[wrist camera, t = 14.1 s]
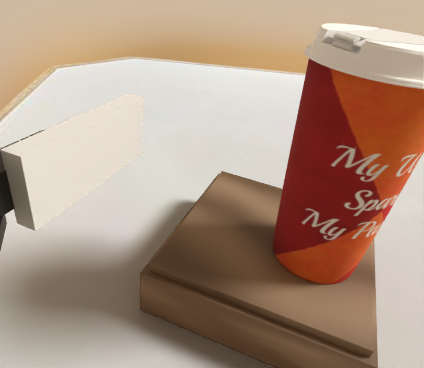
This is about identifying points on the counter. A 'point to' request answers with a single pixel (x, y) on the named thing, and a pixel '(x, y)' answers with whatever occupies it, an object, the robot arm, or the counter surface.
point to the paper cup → (349, 147)
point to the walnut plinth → (257, 286)
